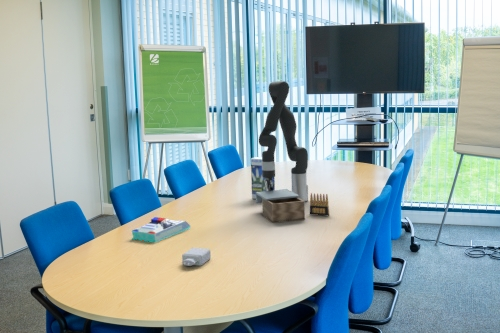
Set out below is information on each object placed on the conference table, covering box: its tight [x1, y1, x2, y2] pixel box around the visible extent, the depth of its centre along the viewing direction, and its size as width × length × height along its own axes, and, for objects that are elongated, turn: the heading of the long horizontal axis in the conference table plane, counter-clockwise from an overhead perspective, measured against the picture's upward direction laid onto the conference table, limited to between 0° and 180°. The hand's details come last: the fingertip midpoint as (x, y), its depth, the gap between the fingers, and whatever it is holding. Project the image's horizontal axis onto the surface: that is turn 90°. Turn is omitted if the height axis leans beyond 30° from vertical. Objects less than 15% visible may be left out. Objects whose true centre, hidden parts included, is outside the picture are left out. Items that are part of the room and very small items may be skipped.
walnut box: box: [261, 197, 306, 224], centre depth 315 cm, size 18×18×10 cm
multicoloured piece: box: [131, 216, 191, 243], centre depth 292 cm, size 17×30×9 cm, turn 149°
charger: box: [181, 247, 212, 267], centre depth 243 cm, size 5×9×15 cm
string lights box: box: [250, 156, 276, 200], centre depth 364 cm, size 13×8×26 cm, turn 62°
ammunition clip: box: [309, 192, 330, 216], centre depth 317 cm, size 11×2×12 cm, turn 65°
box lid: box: [255, 188, 299, 204], centre depth 324 cm, size 19×20×6 cm
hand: (269, 198), depth 337 cm, fingers closed
